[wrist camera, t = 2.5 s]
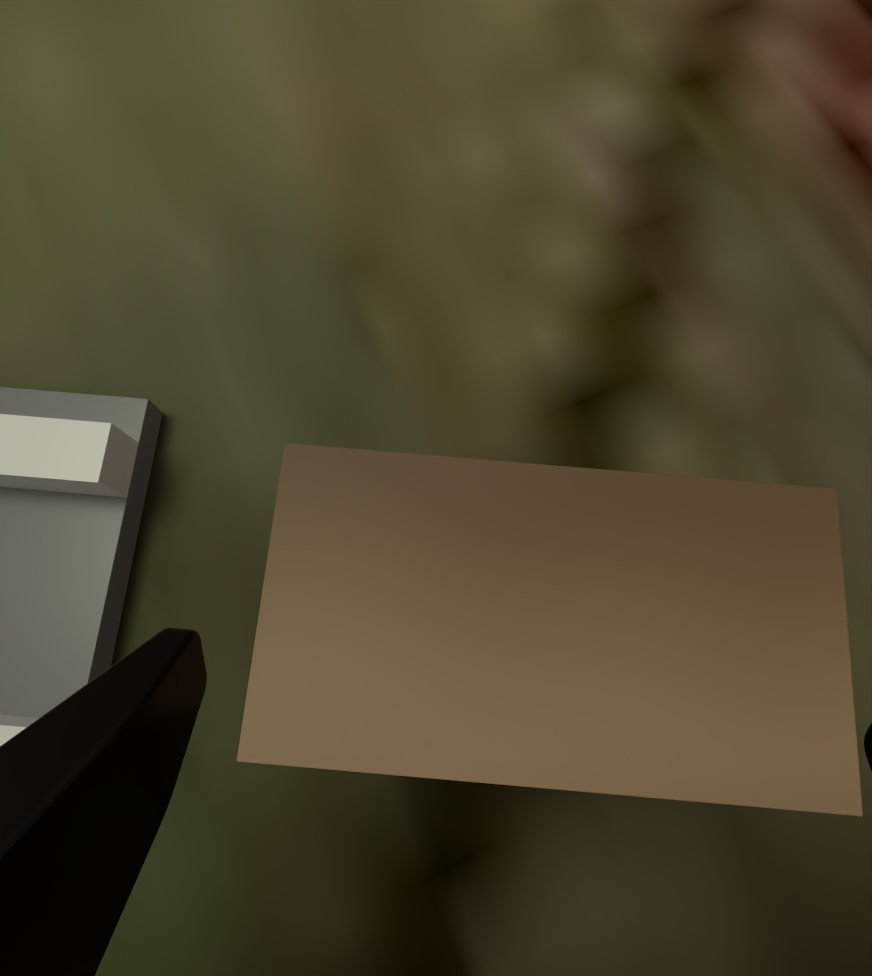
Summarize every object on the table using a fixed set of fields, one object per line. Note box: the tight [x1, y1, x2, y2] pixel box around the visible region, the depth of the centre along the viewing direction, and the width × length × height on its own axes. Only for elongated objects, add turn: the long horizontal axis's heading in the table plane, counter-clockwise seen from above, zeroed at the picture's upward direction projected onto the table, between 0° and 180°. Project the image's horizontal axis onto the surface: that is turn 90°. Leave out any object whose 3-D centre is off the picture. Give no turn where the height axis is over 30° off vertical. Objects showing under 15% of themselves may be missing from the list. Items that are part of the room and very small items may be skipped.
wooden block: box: [237, 443, 863, 816], centre depth 12 cm, size 4×6×10 cm, turn 85°
